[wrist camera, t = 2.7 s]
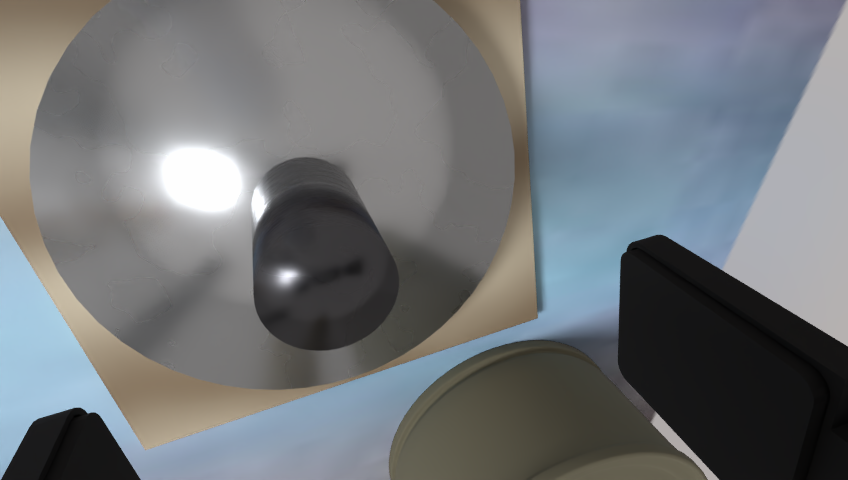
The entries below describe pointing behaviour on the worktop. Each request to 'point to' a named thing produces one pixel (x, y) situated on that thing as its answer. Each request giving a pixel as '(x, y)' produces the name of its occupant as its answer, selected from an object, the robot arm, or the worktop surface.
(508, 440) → the can
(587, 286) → the worktop surface
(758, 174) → the worktop surface
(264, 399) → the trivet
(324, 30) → the lid
